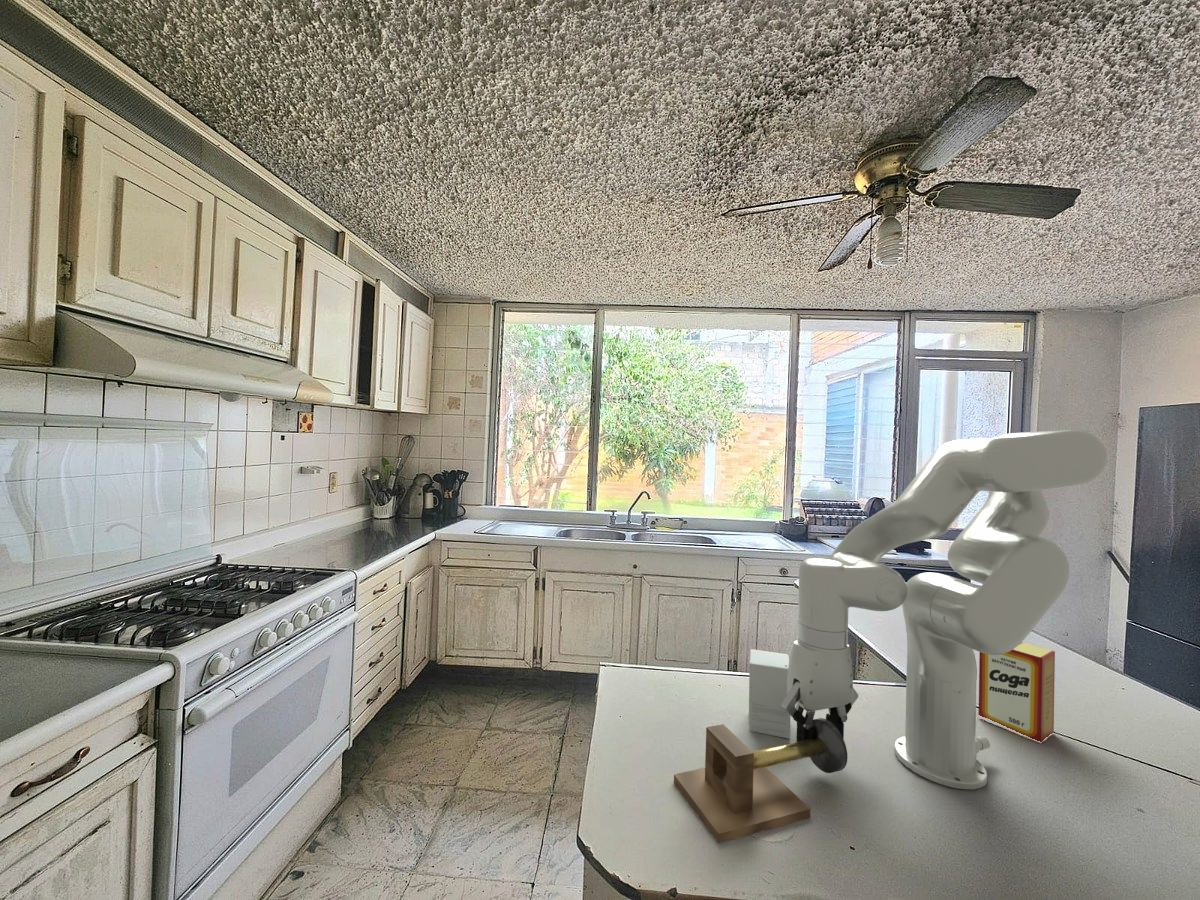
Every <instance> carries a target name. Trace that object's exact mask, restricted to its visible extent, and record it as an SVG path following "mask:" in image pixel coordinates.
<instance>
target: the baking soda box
mask: <svg viewBox="0 0 1200 900" xmlns="http://www.w3.org/2000/svg"><path fill="white" fill-rule="evenodd" d="M978 659H979V663H978V664H979V665H978V666H979V667H978V669H979V670H978V671H979V673H978V674H979V675H978V679H979V680H978V715H980V716H982V717H985V718H988V719H990V720H992V721H994V722H997V723H999V724H1001V725H1003V726H1006V727H1007V728H1010V729H1012V730H1015V731H1016V732H1019V733H1021V734H1023V735H1026V736H1028V737H1030V738H1032V739H1035V740H1037V741H1040V742H1042V741H1043V740H1044V739H1045V738H1046V737H1048V736H1049V735H1050V734H1052V733H1053V732H1055V731H1054V730H1055V729H1054V728H1055V727H1054V723H1055V720H1054V719H1055V680H1056V679H1055V676H1056V675H1055V674H1056V673H1055V669H1056V668H1055V667H1056V664H1055V661H1056V651H1054V650H1052V649H1047V648H1045V647H1044V648H1043V647H1040V646H1037V645H1033V644H1031V643H1025V642H1023V641H1022V642H1021V643H1020V644H1019V645H1018V646H1017V647H1016V648H1014V649H1013V650H1011V651H1009V652H1007V653H1004V654H1000V655H990V654H985V653H982V652H979V658H978Z"/></svg>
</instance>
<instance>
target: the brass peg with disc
mask: <svg viewBox="0 0 1200 900" xmlns="http://www.w3.org/2000/svg"><path fill="white" fill-rule="evenodd" d="M811 728H812V729H814V739H809V740H804V741H800V742H791V743H787V744H782V745H777V746H772V747H771V746H770V747H766V748H763V749H758V750H751V751H752V752H754V770H755V769H759V768H764V767H767V768H768V767H772V766H775V765H779V764H781V765H782V764H785V763H790V762H795V761H798V760H803V759H808V758H810V759H811V762H812V763H813V764H814V765H815V766H816V767H817V769H819V770H820V771H822V772H823V773H825V774H832V773H836V772H840V771H842V770H844V769H845V768H846V767H847V764H848V748H847V745H846V742H845V740H843V737H842V735H841V734H840V732H839V731H838V729H837V728H836V727H835V726H834V725H833V724H832V723H831V722H830V721H828V720H827V719H826V718H823V717H819V718H813V722H812V725H811Z"/></svg>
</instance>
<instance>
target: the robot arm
mask: <svg viewBox="0 0 1200 900" xmlns="http://www.w3.org/2000/svg"><path fill="white" fill-rule="evenodd" d="M1108 454H1109V453H1108V451H1107V448H1106V445H1105V444H1104V442H1103V441H1102V440H1101V439H1100V438H1098V436H1096V435H1094V434H1092V433H1090V432H1087V431H1084V430H1079V429H1062V430H1061V429H1060V430H1059V429H1058V430H1043V431H1040V430H1039V431H1027V432H1026V431H1023V432H1011V433H1006V434H1002V435H998V436H996V437H986V438H984V437H983V438H963V439H957V440H956V439H955V440H952V441H948V442H945V443H944V444H942V445H941V446H940V447H938V448H937V450H936V451H934V453H933V454H932V455H931V457H930V458H929V459H928V460H927V462H926V463H925V464H924V465H923V467H922V468H921V469H920V470H919V472H918V473H917V474H916V476H915V477H913V479H912V480H911V482H910V483H909V484H907V486H906V488H905V489H904V490H903V492H902V493H901V494H900V495H899V496H898V498H897V499H896V500H894V501H893V503H891V504H890V505H888V506H886V507H884V508H883V509H881V510H879V511H877V512H876V513H874V514H873V515H871V516H870V517H868V518H866V519H865V520H864V521H862V522H860V523H859V524H857V525H856V526H855V527H854V528H853V529H851V530H850V531H849V532H848V533H847V534H846V535H845V536H844V538H843V539H842V540H841V541H840V542H839V544H838V545H837V546H836V547H835V549H834V550H833V552H832V553H831V555H830V556H829V557H828V558H821V557H817V558H815V557H811V558H807V559H806V558H805V559H804V560H802V561H801V563H800V565H799V569H798V600H797V601H798V603H797V605H798V607H797V613H798V614H797V640H794V641H793V642H792V645H791V646H792V647H791V649H790V653H789V666H788V675H787V696H786V697H785V699H784V700H783V702H782V704H781V706H782V707H783V708H784V709H785V710H786V711H787V712H788V713H789V714H790V717H792V719H793V720H794V721H795V722H796V738H795V739H796V742H800V741H804V740H809V739H814V729H812V728H811V725H812V722H813V719H815V717H814V716H815V714H816V712H817V711H821V710H822V711H823V710H828V713H826V715H825V719H827V720H828V721H830V722H831V723H832V724H833V725H834V726H835V727H836V728H837V729H838V731H839V732H840V734H841V735H842V737H843V740H844V739H845V738H844V737H845V736H844V735H845V723H846V722H847V721H848V714H849V712H850V711H851V709H852V707H853V705H854V704H855V703H856V701H857V700H858V698H859V694H858V692H857V691H856V689H855V688H854V677H853V663H852V655H851V650H850V649H851V648H850V645H849V633H850V627H849V610H850V609H849V608H857V609H861V610H867V611H873V612H889V611H893V610H895V609H897V608H899V607H901V608H902V614H903V618H904V619H903V620H904V623H905V632H906V643H907V644H906V654H907V655H906V686H905V688H906V691H905V725H904V726H905V733H904V734H905V735H904V736H901V737H899V738H897V739H896V740H895V742H894V749H893V750H894V754H895V756H896V758H897V759H898V760H899V761H900V762H901V763H902V764H903V765H905V766H904V767H907V769H909V770H911V771H912V772H914V773H915V774H917V775H918V776H921V777H923V778H925V779H927V780H929V781H932V782H934V783H937V784H938V785H943V786H945V787H950V788H953V789H958V790H959V789H961V790H976V789H981V788H983V787H985V786H986V784H987V782H988V772H987V770H986V768H985V767H984V765H983V764H982V763H981V762H980V761H979V760H978V759H977V757H978V756H977V754H979V753H980V751H983V750H987V749H990V748H991V743H990V740H989V739H988V738H987V737H986V736H984V735H978V736H976V725H977V724H976V723H977V722H976V718H977V715H976V714H977V680H978V667H977V660H976V654H975V652H974V651H977V652H979V653H980V652H982V653H985V654H990V655H1000V654H1004V653H1007V652H1009V651H1011V650H1013V649H1014V648H1016V647H1017V646H1018V645H1019V644H1020V643H1021V642H1023V641H1025V640H1026V638H1027V637H1028V636H1029V635H1030V633H1031V632H1032V631H1033V630H1034V629H1035V627H1036V626H1037V625H1038V624H1039V623H1040V622H1041V620H1042V619H1043V618H1044V616H1045V615H1047V613H1048V611H1049V610H1050V609H1051V608H1052V607H1053V605H1054V604H1055V603H1056V602H1057V600H1058V599H1059V598H1060V597H1061V595H1062V594H1063V592H1064V590H1065V589H1066V587H1067V585H1068V582H1069V578H1070V577H1069V576H1070V563H1069V561H1068V557H1067V555H1066V553H1065V552H1064V551H1063V549H1062V548H1061V547H1060V546H1058V545H1057V544H1056V543H1054V542H1052V541H1051V540H1049V539H1047V538H1044V537H1041V534H1042V533H1043V531H1044V530H1046V529H1045V528H1046V527H1047V525H1048V523H1049V519H1050V518H1049V517H1050V511H1049V510H1050V509H1049V507H1048V504H1047V501H1046V498H1045V496H1044V493H1043V491H1044V490H1052V489H1057V488H1066V487H1073V486H1079V485H1082V484H1086V483H1088V482H1092V480H1095V479H1096V478H1097V477H1098V476H1099V475H1101V474H1102V472H1103V471H1104V470H1105V468H1106V466H1107V464H1108V460H1109V458H1108V456H1109V455H1108ZM982 491H984V492H988V496H987V499H986V501H985V503H984V504H983V505H982V507H980V508H979V511H978V512H977V513H976V514H975V515H974V517H973V518H972V519H971V520H970V521H969V523H968V524H967V525H966V526H965V527H964V528H963V530H962V531H961V532H960V533H959V534H958V536H957V537H956V538H955V540H954V541H953V542H952V543H951V545H950V546H949V549H948V551H947V561H948V564H949V566H950V567H951V569H952V570H953V571H955V573H957V574H958V575H960V576H961V577H964V578H965V579H968V580H970V581H973V582H976V583H979V584H982V585H979V584H975V583H972V582H970V581H967V580H965V579H961V578H957V577H954V576H951V575H948V574H943V573H940V572H931V571H930V572H927V571H926V572H922V573H918V574H915V575H913V576H911V577H910V578H909V579H908V580H907V582H906V580H905V578H904V577H903V576H902V575H901V573H900V572H898V571H897V570H895V569H894V568H892V567H890V566H888V565H886V564H883V563H880V562H879V560H881V559H882V557H884V556H885V555H887V554H888V553H889V552H891V551H892V550H894V549H896V548H898V547H901V546H903V545H907V544H912V543H916V542H921V541H925V540H930V539H933V538H936V537H940V536H943V535H944V534H947V532H948V531H949V530H950V529H951V528H952V526H953V525H954V524H955V522H956V521H957V520H958V518H959V517H960V516H961V515H962V513H963V512H964V511H965V510H966V508H967V507H968V506H969V504H970V503H971V502H972V501H973V499H974V498H975V497H976V496H977V494H978V493H980V492H982ZM804 710H805V715H803V714H804ZM844 741H845V740H844Z"/></svg>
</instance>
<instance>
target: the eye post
mask: <svg viewBox="0 0 1200 900" xmlns="http://www.w3.org/2000/svg"><path fill="white" fill-rule="evenodd" d="M705 729H706V730H705V760H704V761H705V762H704V763H705V764H704V767H702V768H698V769H692V770H688V771H684V772H679V773H674V775H673V783H674V784H675V786H676V787H677V788H678V790H679V791H680V793H681V794H682V796H684V799H685V800H686V801H687V802H688V804H689V805H690V807H691V808H692V809H693V811H694V812H695V813H696V814H697V816H698V817H699V818H700V820H701V822H702V823H703V824H704V826H705V827H706V828H707V830H708V831H709V832H710V834H711V835H712V836H713V838H714V839H715V840H716V842H717V844H721V843H725V842H728V841H732V840H735V839H739V838H742V837H746V836H749V835H752V834H756V833H760V832H764V831H767V830H771V829H775V828H777V827H778V828H779V827H782V826H785V825H789V824H791V823H792V824H793V823H796V822H799V821H804V820H806V819H809V818H811V807H809V806H808V805H807V804H806V803H805V802H804V801H803V800H802V799H800V797H798V795H796V794H795V793H794V792H793V791H792V790H791V789H790V788H789V787H788V786H787V785H786V784H785V783H783V781H782V780H781V779H780V778H778V777H777V775H775V774H774V773H773V772H772V771H771V770H770V769H769V768H768V767H764V768H759V769H755V770H754V752H752V751H753V750H752V749H751V748H749V747H748V746H747V745H746V744H745V743H744V742H743V741H742V740H741V739H740V738H739V737H737V736H736V734H735V733H733V732H732V731H731V730H730V729H729V728H728V727H727V726H726V725H724V723H722V724H717V725H712V726H707V727H706V728H705Z"/></svg>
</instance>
